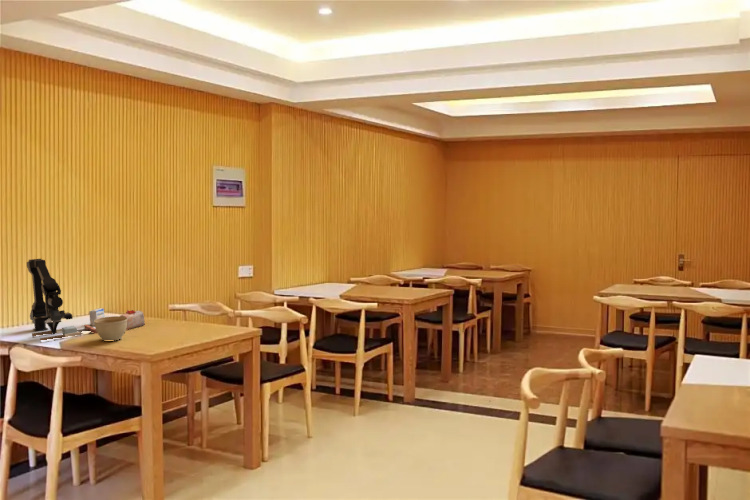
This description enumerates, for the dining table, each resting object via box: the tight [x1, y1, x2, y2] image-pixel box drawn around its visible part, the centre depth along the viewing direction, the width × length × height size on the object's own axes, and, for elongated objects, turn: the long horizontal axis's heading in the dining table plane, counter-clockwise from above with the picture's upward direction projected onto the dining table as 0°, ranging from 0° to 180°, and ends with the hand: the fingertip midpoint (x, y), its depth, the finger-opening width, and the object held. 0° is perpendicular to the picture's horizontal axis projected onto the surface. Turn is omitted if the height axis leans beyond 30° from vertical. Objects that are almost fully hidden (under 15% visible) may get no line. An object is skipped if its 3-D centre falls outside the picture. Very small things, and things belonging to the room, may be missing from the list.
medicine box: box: [88, 307, 105, 327], centre depth 400 cm, size 8×4×9 cm, turn 168°
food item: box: [119, 309, 146, 331], centre depth 390 cm, size 14×8×10 cm, turn 150°
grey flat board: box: [31, 324, 98, 341], centre depth 376 cm, size 17×28×2 cm, turn 130°
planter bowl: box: [94, 315, 128, 341], centre depth 362 cm, size 16×16×11 cm
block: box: [61, 325, 78, 335], centre depth 377 cm, size 6×6×4 cm
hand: (53, 334), depth 372 cm, fingers closed
